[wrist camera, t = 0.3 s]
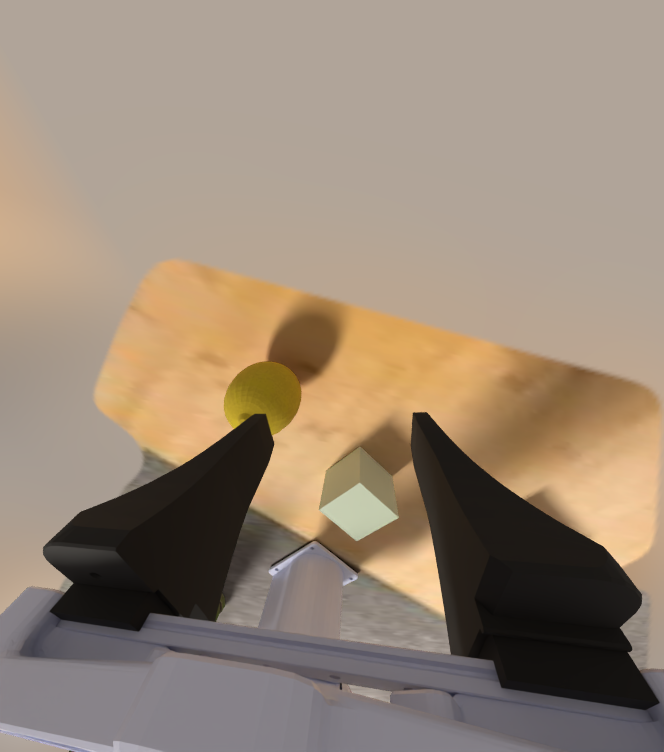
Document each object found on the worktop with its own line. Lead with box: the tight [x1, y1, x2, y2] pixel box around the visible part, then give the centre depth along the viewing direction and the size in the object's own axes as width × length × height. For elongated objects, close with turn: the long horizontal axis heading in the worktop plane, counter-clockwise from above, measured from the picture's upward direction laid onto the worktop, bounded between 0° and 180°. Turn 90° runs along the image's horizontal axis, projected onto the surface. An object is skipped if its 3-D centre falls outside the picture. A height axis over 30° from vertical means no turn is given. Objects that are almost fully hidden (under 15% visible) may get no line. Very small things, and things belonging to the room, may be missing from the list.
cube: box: [319, 447, 399, 541], centre depth 24 cm, size 5×5×5 cm
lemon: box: [224, 361, 301, 435], centre depth 20 cm, size 6×6×8 cm
